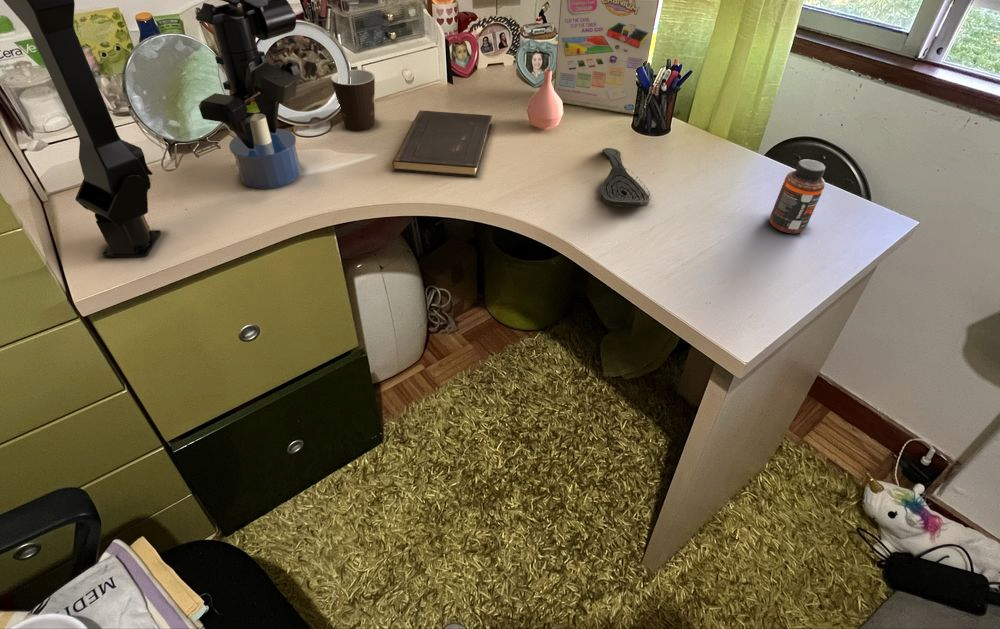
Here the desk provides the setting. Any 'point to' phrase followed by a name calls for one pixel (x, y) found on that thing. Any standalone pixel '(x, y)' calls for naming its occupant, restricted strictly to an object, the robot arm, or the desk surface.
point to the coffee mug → (356, 99)
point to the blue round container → (269, 170)
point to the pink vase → (545, 105)
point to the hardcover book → (444, 144)
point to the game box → (604, 51)
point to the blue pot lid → (263, 141)
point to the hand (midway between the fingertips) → (262, 140)
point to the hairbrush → (621, 184)
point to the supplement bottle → (798, 197)
